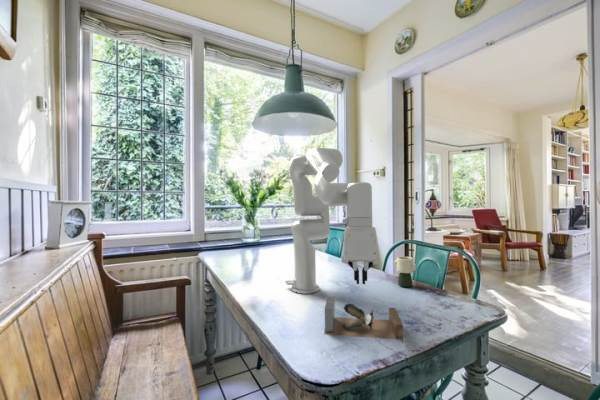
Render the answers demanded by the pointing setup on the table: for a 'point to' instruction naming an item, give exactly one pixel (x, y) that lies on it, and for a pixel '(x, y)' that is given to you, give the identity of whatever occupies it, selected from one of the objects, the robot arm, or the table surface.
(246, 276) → the table surface
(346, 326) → the eagle figurine
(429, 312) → the table surface
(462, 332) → the table surface
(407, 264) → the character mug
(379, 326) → the wooden book rack
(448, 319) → the table surface
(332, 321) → the bookend
